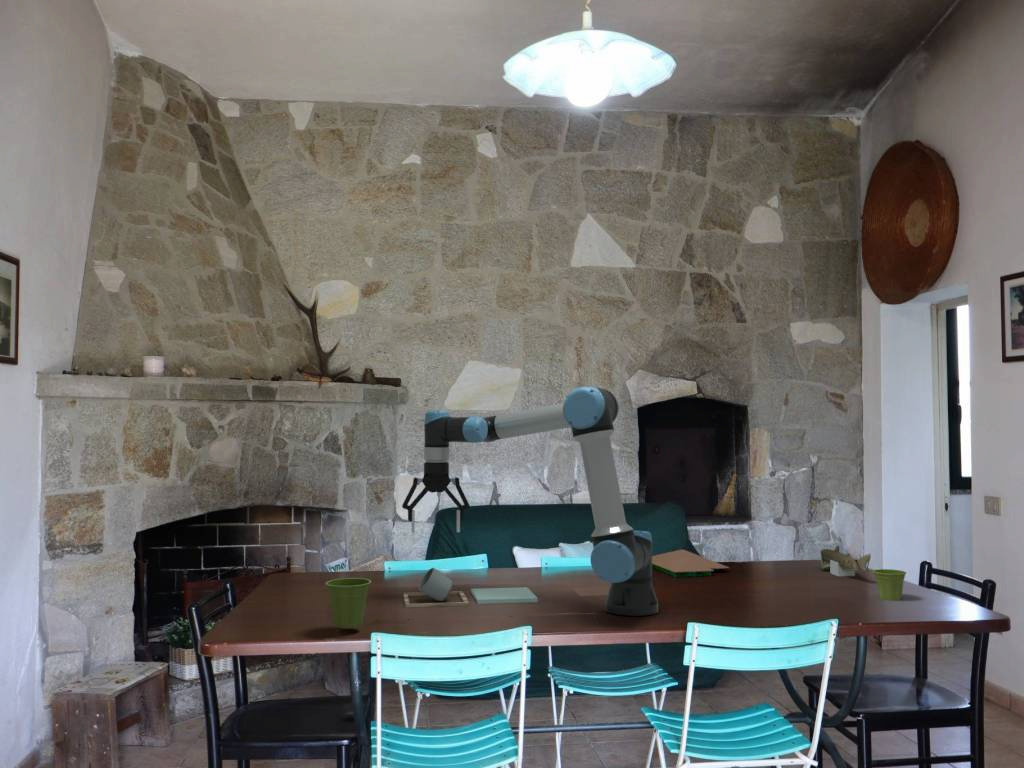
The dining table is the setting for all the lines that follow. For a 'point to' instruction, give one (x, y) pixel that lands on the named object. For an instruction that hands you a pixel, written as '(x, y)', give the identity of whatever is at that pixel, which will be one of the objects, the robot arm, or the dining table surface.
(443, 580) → the ceramic mug
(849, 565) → the wood carving
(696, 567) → the tan flat piece
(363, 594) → the plant pot
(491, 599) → the sage board
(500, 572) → the dining table surface
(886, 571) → the plant pot
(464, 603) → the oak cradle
